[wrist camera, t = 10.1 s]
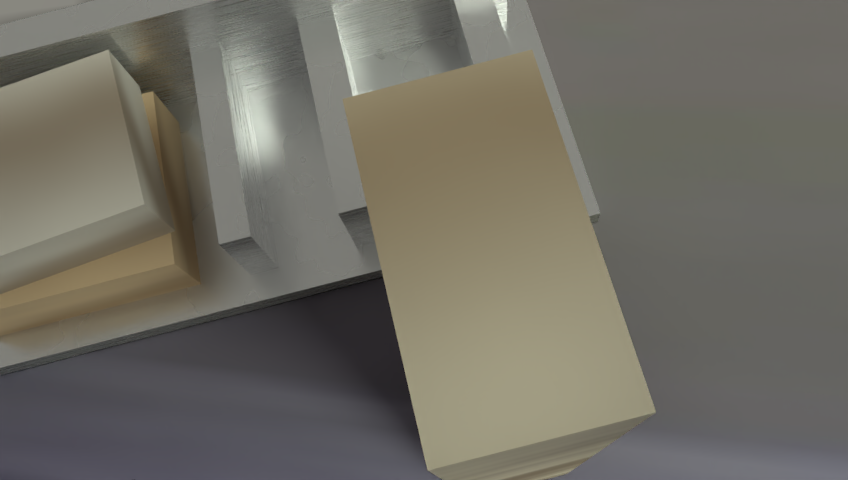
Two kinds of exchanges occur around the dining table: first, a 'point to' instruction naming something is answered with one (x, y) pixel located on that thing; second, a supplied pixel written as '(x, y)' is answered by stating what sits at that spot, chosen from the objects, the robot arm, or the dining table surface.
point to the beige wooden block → (494, 275)
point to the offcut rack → (262, 135)
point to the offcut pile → (89, 195)
